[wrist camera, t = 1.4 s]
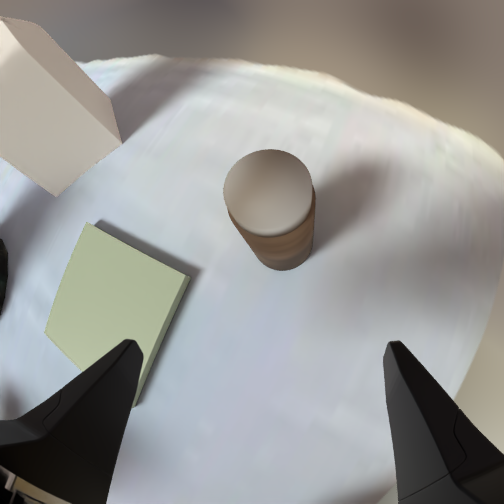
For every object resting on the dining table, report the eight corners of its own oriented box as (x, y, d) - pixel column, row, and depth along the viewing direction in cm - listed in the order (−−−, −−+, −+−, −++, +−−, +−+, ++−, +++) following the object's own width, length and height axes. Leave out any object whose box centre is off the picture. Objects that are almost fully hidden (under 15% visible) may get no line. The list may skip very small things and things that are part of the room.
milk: (110, 99, 34) (16, -15, 9) (122, 144, 30) (-11, 1, 6) (53, 145, 34) (-50, 58, 10) (56, 197, 31) (-84, 103, 6)
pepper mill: (321, 225, 23) (329, 162, 14) (298, 280, 23) (293, 248, 13) (267, 205, 25) (244, 137, 15) (243, 256, 24) (203, 212, 15)
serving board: (191, 277, 24) (185, 275, 23) (134, 407, 22) (128, 409, 21) (93, 225, 28) (86, 222, 27) (51, 333, 26) (44, 332, 25)
